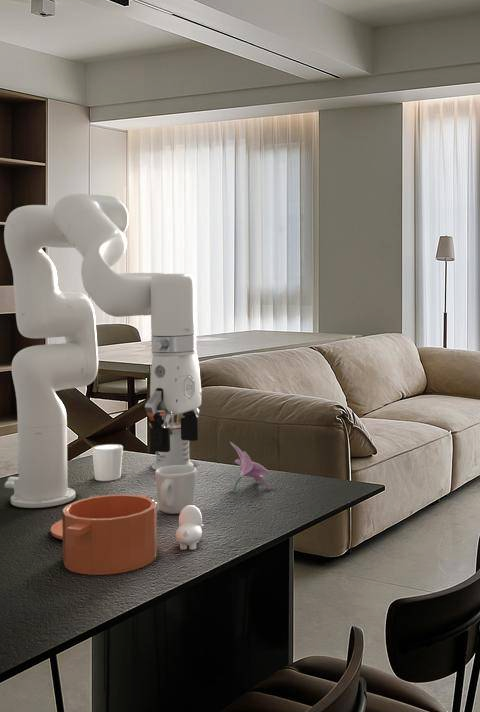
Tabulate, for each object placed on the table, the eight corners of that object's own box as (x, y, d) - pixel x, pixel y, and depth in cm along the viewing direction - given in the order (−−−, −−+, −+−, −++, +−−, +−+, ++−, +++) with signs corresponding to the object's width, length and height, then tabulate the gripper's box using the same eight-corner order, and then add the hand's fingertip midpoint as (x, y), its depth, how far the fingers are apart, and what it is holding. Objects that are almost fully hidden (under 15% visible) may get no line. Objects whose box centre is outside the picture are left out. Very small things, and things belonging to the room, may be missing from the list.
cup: (183, 522, 159) (182, 479, 159) (142, 520, 160) (142, 477, 160) (203, 506, 169) (202, 465, 169) (165, 504, 171) (164, 464, 171)
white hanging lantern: (153, 472, 197) (152, 364, 197) (149, 461, 209) (148, 359, 208) (196, 469, 200) (194, 362, 200) (189, 458, 211) (188, 357, 211)
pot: (33, 575, 132) (32, 520, 132) (107, 535, 151) (106, 487, 151) (114, 585, 127) (114, 528, 127) (180, 543, 146) (180, 494, 146)
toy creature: (206, 537, 150) (205, 501, 150) (199, 552, 142) (199, 514, 142) (179, 537, 150) (179, 501, 150) (171, 552, 142) (171, 515, 142)
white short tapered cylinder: (129, 476, 194) (129, 445, 194) (107, 483, 188) (106, 451, 188) (108, 472, 198) (107, 442, 197) (85, 479, 192) (84, 448, 192)
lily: (268, 503, 174) (284, 458, 177) (214, 482, 173) (232, 437, 177) (261, 506, 185) (276, 464, 189) (210, 486, 184) (227, 444, 188)
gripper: (167, 350, 137) (169, 457, 137) (216, 341, 153) (218, 437, 153) (126, 350, 140) (128, 455, 140) (179, 341, 156) (181, 435, 156)
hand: (175, 445), depth 146 cm, fingers open, 9 cm apart
